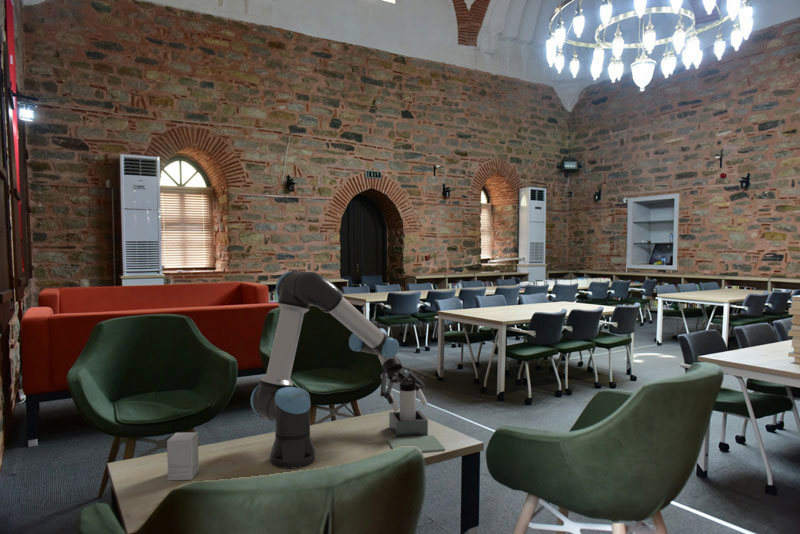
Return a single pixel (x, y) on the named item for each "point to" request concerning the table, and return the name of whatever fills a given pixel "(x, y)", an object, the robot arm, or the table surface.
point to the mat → (418, 443)
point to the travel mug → (408, 400)
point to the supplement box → (182, 456)
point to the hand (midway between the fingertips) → (411, 407)
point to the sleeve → (408, 425)
